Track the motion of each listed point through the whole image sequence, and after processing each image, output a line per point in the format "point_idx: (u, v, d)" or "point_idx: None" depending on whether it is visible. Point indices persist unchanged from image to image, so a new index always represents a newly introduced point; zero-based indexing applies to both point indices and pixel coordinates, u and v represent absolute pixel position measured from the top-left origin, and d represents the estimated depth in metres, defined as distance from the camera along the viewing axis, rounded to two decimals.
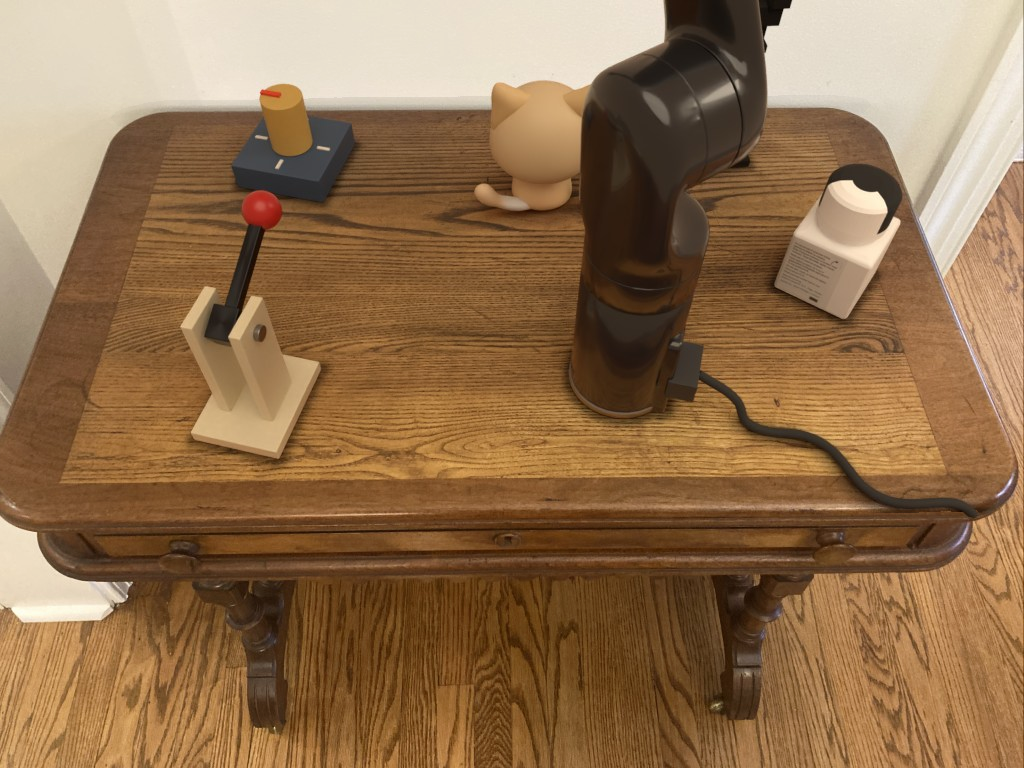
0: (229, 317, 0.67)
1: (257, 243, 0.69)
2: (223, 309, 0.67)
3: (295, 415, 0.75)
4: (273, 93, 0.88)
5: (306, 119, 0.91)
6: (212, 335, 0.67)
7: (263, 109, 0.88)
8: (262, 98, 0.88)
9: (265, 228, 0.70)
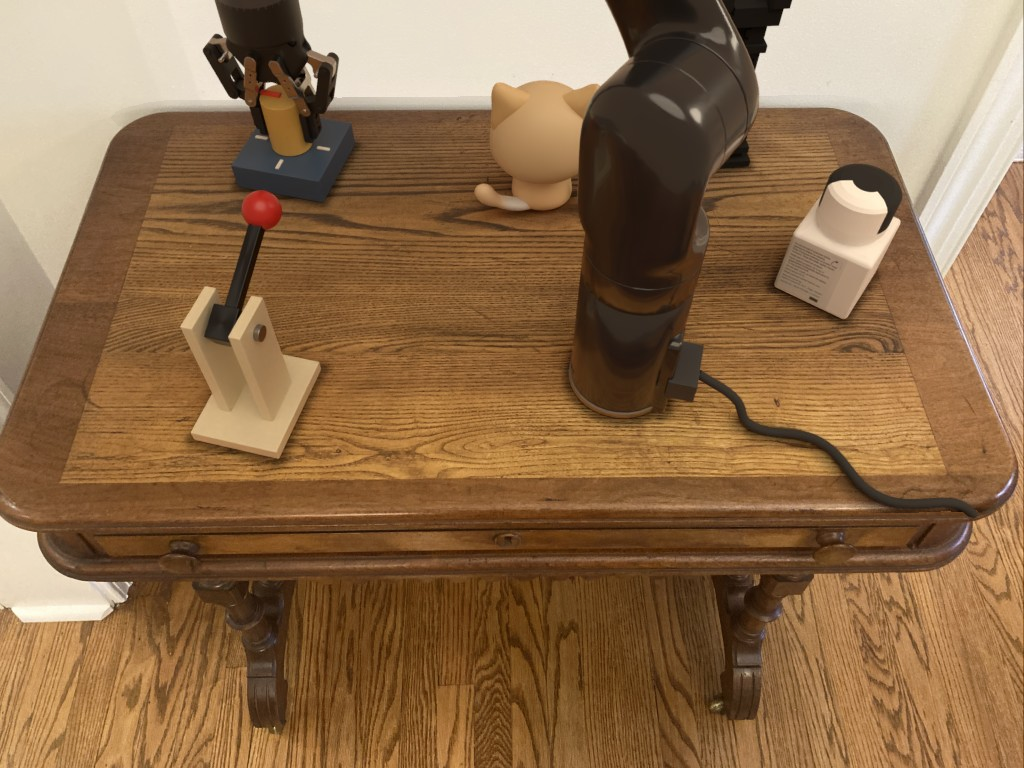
0: (229, 317, 0.67)
1: (257, 243, 0.69)
2: (223, 309, 0.67)
3: (295, 415, 0.75)
4: (273, 93, 0.88)
5: None
6: (212, 335, 0.67)
7: (263, 109, 0.88)
8: (262, 98, 0.88)
9: (265, 228, 0.70)
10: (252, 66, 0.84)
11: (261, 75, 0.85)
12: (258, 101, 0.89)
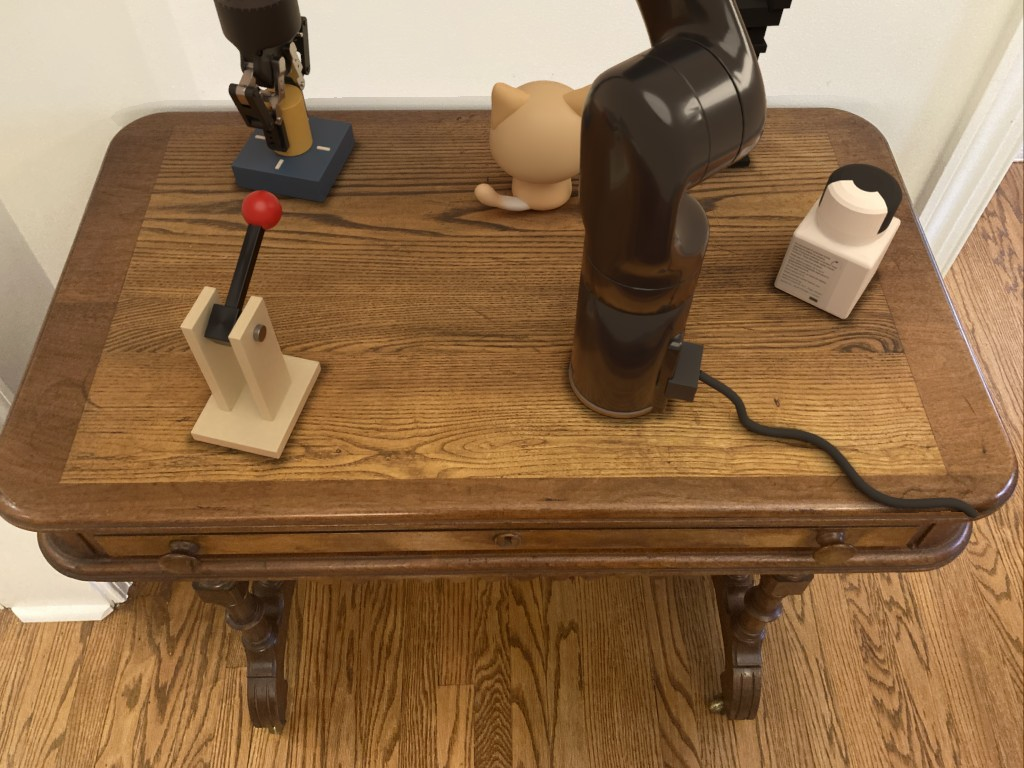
0: (229, 317, 0.67)
1: (257, 243, 0.69)
2: (223, 309, 0.67)
3: (295, 415, 0.75)
4: None
5: None
6: (212, 335, 0.67)
7: (293, 111, 0.88)
8: (282, 107, 0.87)
9: (265, 228, 0.70)
10: (283, 66, 0.84)
11: None
12: None
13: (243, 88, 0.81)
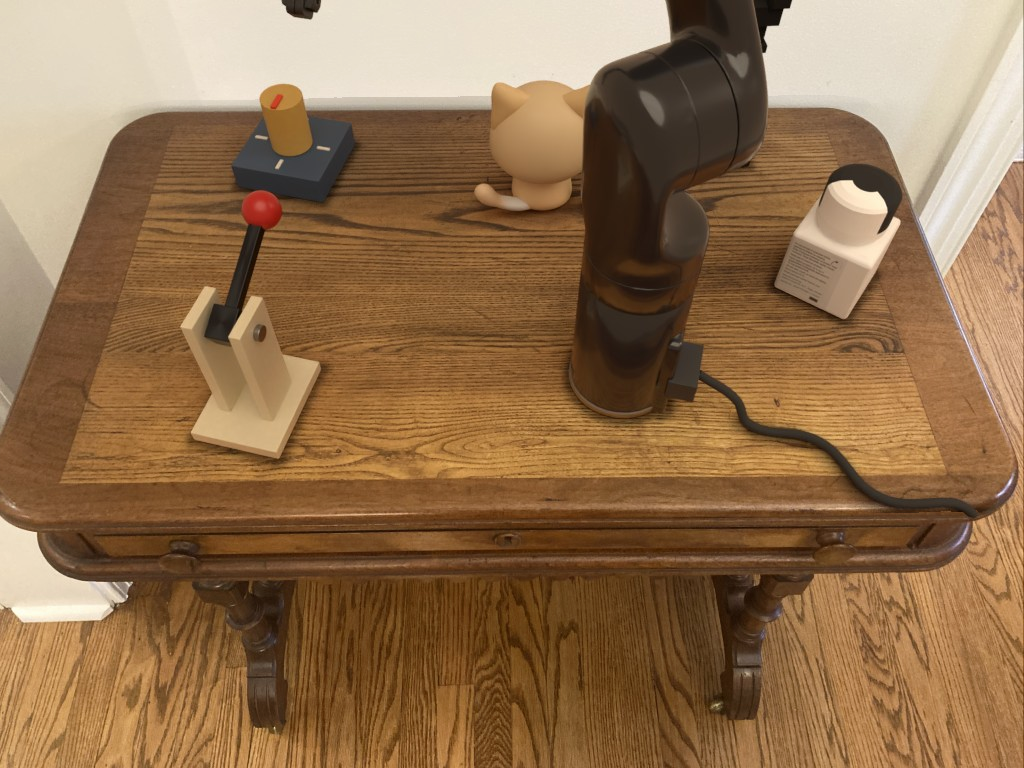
0: (229, 317, 0.67)
1: (257, 243, 0.69)
2: (223, 309, 0.67)
3: (295, 415, 0.75)
4: (278, 98, 0.88)
5: None
6: (212, 335, 0.67)
7: (293, 111, 0.88)
8: (281, 107, 0.87)
9: (265, 228, 0.70)
10: None
11: None
12: None
13: None
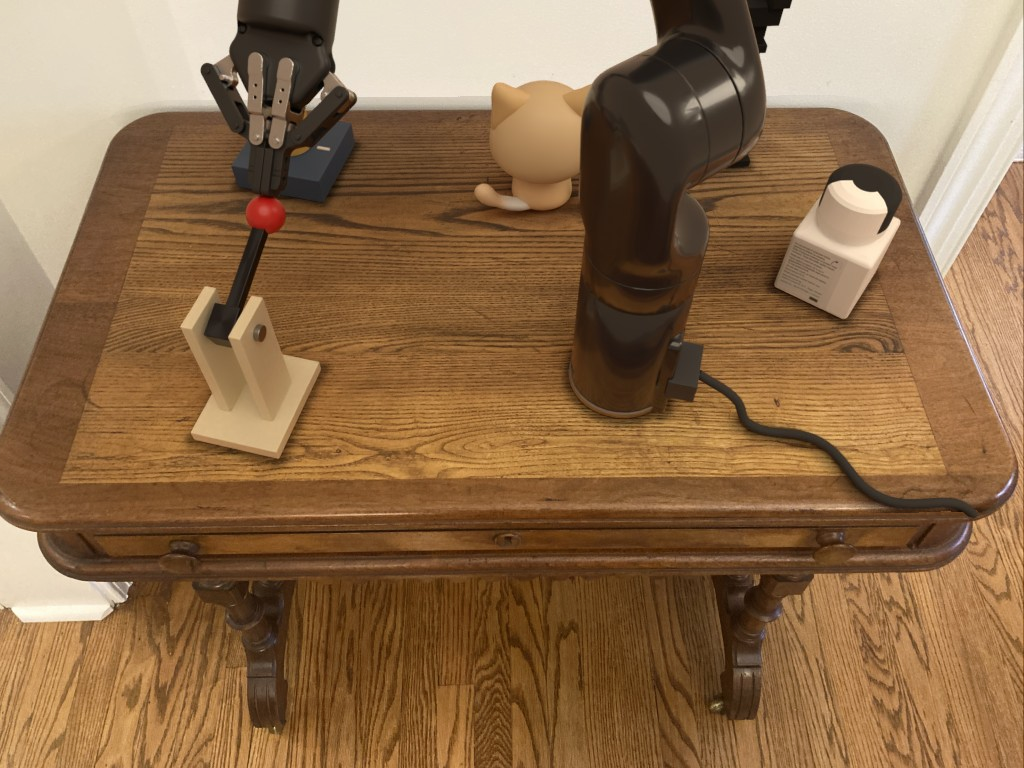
0: (230, 316, 0.67)
1: (260, 245, 0.70)
2: (224, 308, 0.67)
3: (295, 415, 0.75)
4: None
5: None
6: (212, 333, 0.67)
7: None
8: None
9: (268, 232, 0.70)
10: (258, 65, 0.66)
11: None
12: (266, 141, 0.69)
13: None
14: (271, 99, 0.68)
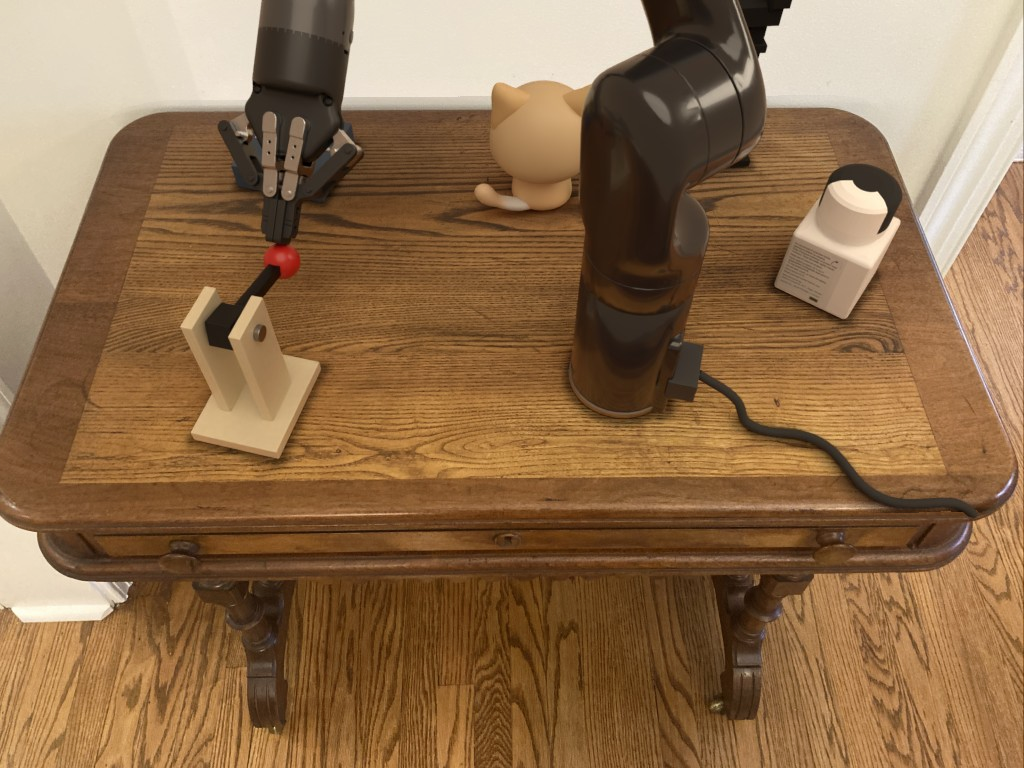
0: (234, 311, 0.68)
1: (273, 277, 0.73)
2: (230, 306, 0.68)
3: (295, 415, 0.75)
4: None
5: None
6: (213, 321, 0.67)
7: None
8: None
9: (282, 271, 0.75)
10: (272, 123, 0.71)
11: None
12: (278, 193, 0.73)
13: None
14: (284, 154, 0.72)
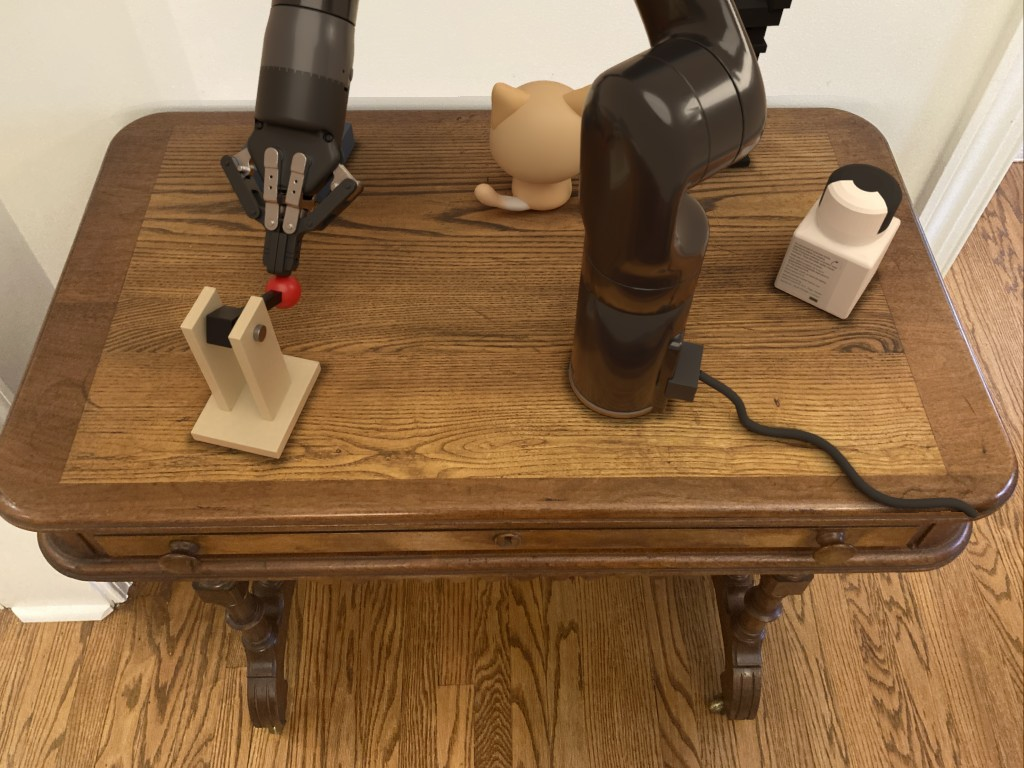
0: (237, 311, 0.68)
1: (274, 299, 0.75)
2: (233, 308, 0.69)
3: (295, 415, 0.75)
4: None
5: None
6: (215, 315, 0.67)
7: None
8: None
9: (283, 298, 0.76)
10: (273, 159, 0.72)
11: None
12: (280, 227, 0.75)
13: None
14: (285, 189, 0.74)
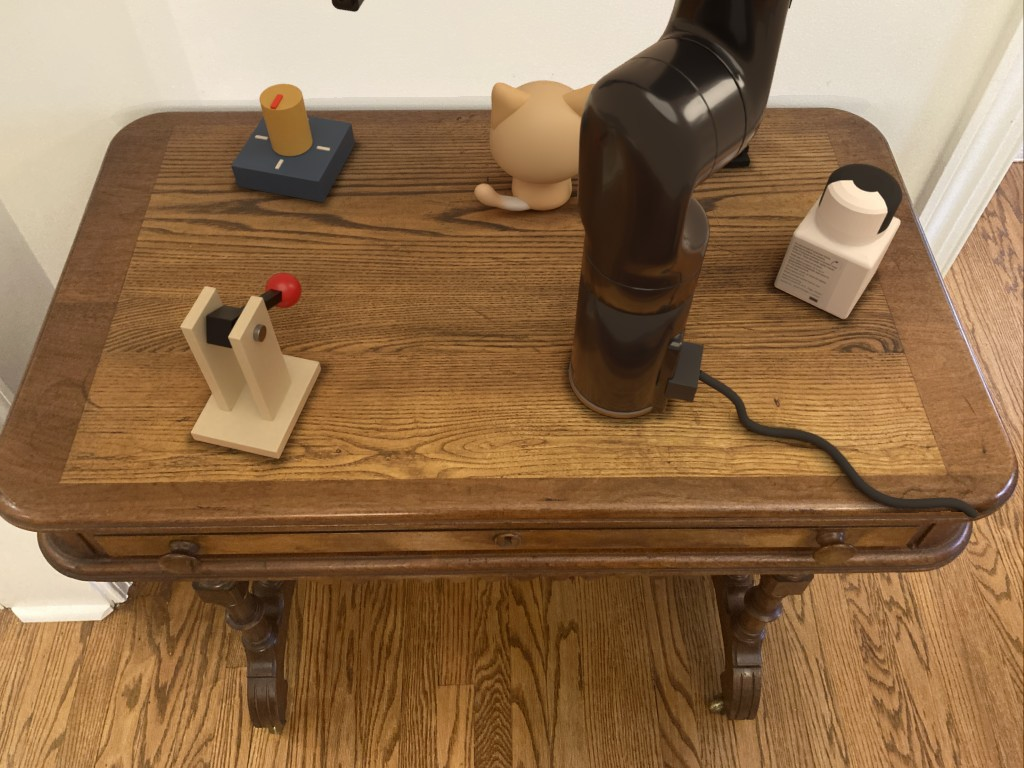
0: (237, 311, 0.68)
1: (274, 298, 0.74)
2: (233, 307, 0.69)
3: (295, 415, 0.75)
4: (278, 98, 0.88)
5: None
6: (215, 315, 0.67)
7: (293, 111, 0.88)
8: (281, 107, 0.87)
9: (283, 297, 0.76)
10: None
11: None
12: None
13: None
14: None
